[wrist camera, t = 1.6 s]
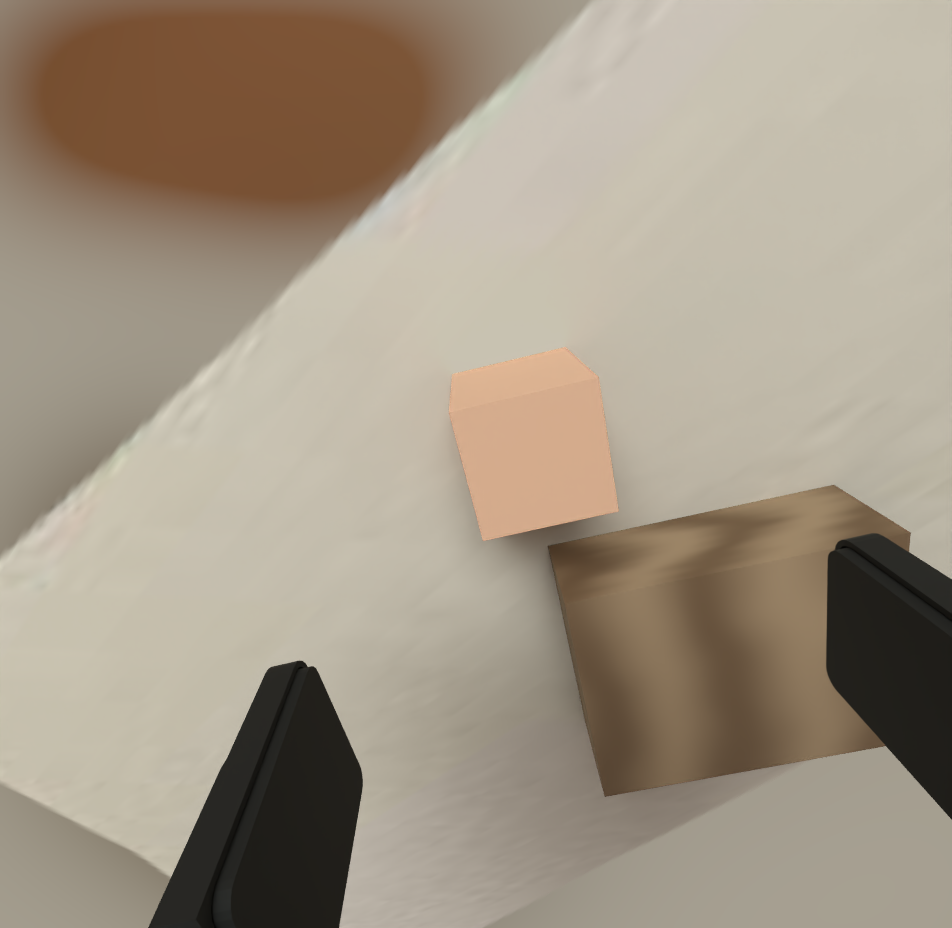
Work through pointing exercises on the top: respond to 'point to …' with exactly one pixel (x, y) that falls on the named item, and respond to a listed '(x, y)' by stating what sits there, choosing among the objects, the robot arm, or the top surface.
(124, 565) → the top surface
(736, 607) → the walnut plinth
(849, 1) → the top surface
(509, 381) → the peach block
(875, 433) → the top surface
